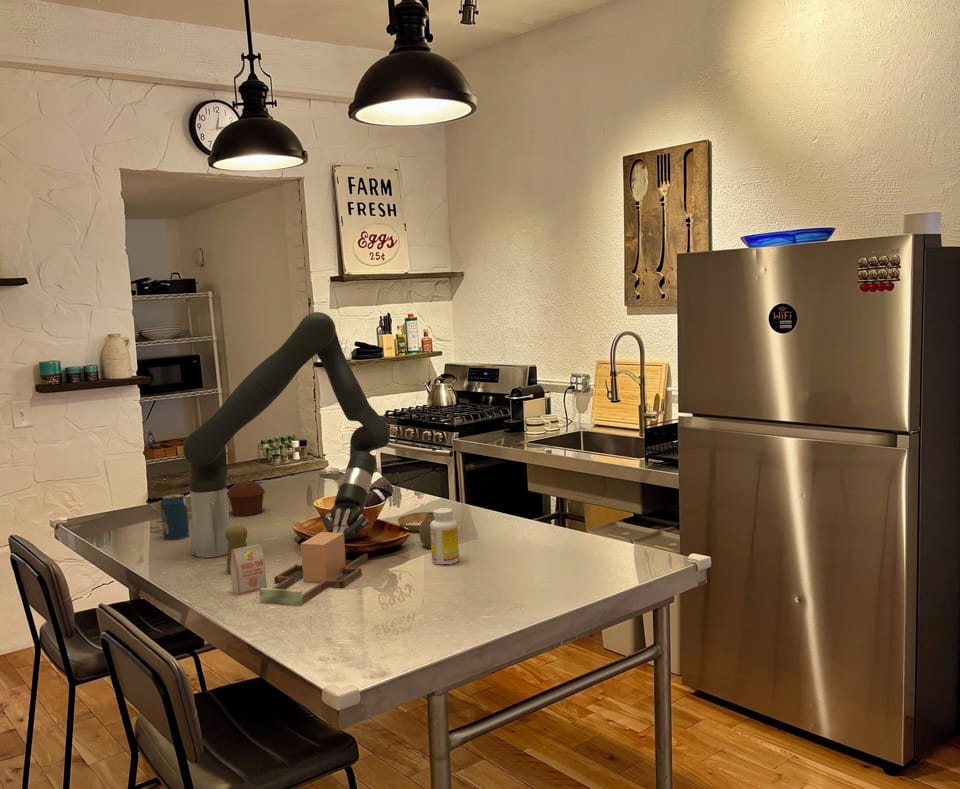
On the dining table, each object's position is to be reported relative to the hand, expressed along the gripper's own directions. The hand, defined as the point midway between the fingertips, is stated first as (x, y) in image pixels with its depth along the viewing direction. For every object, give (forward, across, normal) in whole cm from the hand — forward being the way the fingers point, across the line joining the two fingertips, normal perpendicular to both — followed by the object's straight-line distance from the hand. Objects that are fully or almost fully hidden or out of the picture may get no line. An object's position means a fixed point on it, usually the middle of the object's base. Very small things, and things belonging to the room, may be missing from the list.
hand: (334, 550), depth 210 cm
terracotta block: (+7, 0, -1) cm, 7 cm away
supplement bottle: (-4, +25, +10) cm, 27 cm away
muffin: (-29, -55, +36) cm, 72 cm away
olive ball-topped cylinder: (+8, -23, -1) cm, 24 cm away
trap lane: (+9, 0, -3) cm, 9 cm away
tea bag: (+16, -13, -10) cm, 22 cm away
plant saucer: (-24, +7, +31) cm, 40 cm away
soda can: (-10, -60, +16) cm, 63 cm away
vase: (-12, +17, +18) cm, 28 cm away
